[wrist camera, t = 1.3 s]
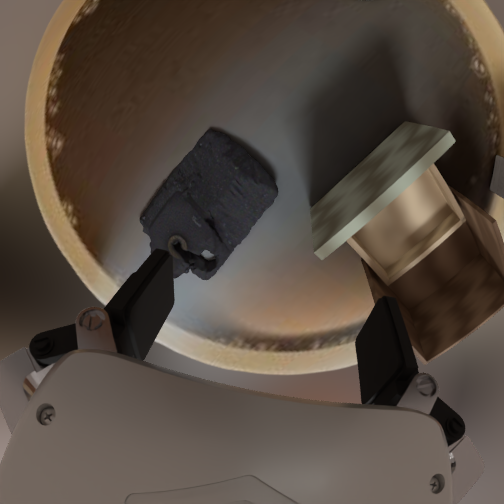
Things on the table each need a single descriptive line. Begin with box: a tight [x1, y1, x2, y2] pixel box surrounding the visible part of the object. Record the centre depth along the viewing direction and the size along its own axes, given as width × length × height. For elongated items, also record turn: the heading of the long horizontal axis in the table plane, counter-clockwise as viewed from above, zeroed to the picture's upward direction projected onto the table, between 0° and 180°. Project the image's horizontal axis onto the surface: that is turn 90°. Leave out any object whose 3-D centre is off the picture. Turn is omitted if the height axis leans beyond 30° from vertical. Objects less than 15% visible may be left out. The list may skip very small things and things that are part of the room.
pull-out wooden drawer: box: [310, 121, 466, 286], centre depth 28 cm, size 18×15×12 cm
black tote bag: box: [140, 129, 278, 280], centre depth 37 cm, size 15×22×5 cm
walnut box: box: [361, 185, 504, 365], centre depth 31 cm, size 18×15×12 cm
